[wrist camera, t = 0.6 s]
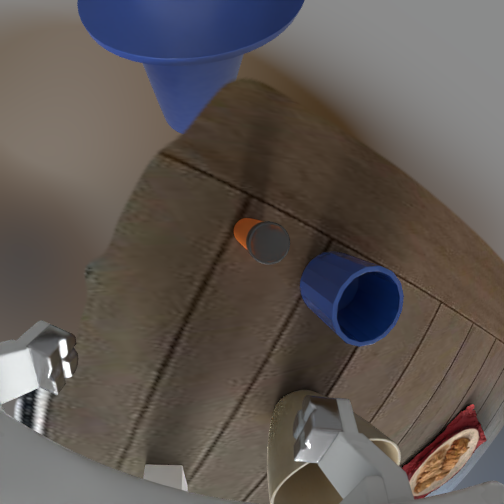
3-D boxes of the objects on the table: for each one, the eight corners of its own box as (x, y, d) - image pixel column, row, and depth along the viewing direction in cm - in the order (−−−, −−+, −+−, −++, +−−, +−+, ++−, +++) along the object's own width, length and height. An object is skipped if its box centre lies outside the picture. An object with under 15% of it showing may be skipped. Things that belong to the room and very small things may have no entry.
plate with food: (482, 437, 52) (489, 442, 49) (411, 503, 51) (417, 511, 48) (468, 399, 48) (478, 406, 44) (380, 482, 46) (387, 492, 43)
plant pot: (277, 458, 41) (304, 534, 25) (226, 402, 38) (242, 491, 22) (359, 411, 42) (410, 475, 26) (324, 345, 39) (385, 413, 23)
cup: (290, 268, 36) (321, 289, 27) (347, 240, 37) (392, 252, 27) (312, 324, 38) (345, 359, 28) (365, 296, 39) (409, 321, 29)
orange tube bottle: (228, 223, 34) (241, 232, 23) (254, 212, 35) (280, 215, 23) (239, 249, 35) (258, 271, 23) (265, 238, 35) (296, 254, 24)
